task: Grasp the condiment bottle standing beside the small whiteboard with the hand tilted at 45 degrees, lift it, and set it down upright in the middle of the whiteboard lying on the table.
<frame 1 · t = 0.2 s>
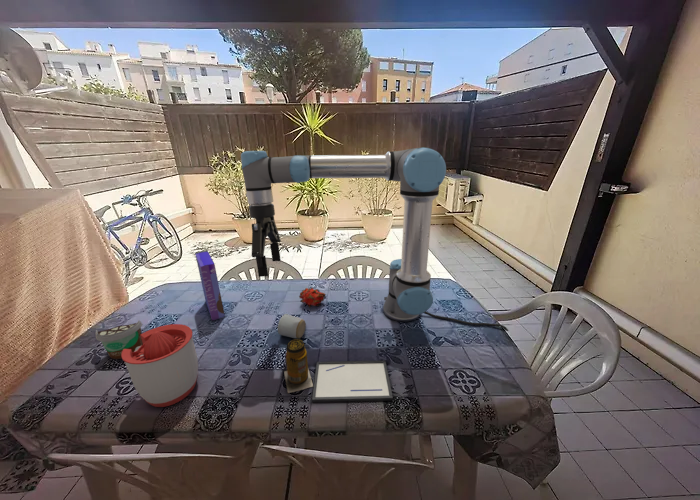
hand: (270, 268, 90), 27 cm above the table, tool pointing down, fingers open, 13 cm apart
cereal box: (214, 309, 117), on the table
ceramic mug: (294, 333, 101), on the table
food container: (125, 354, 91), on the table
whiteboard: (351, 380, 80), on the table
condiment: (298, 379, 81), on the table
citrus juicer: (170, 390, 77), on the table
dragon fruit: (313, 304, 120), on the table
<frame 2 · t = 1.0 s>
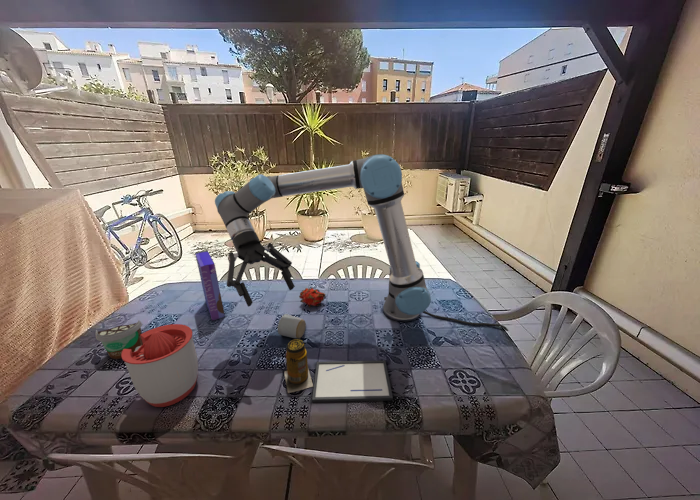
hand: (272, 296, 80), 24 cm above the table, tool tilted 45°, fingers open, 13 cm apart
nothing on the table moved.
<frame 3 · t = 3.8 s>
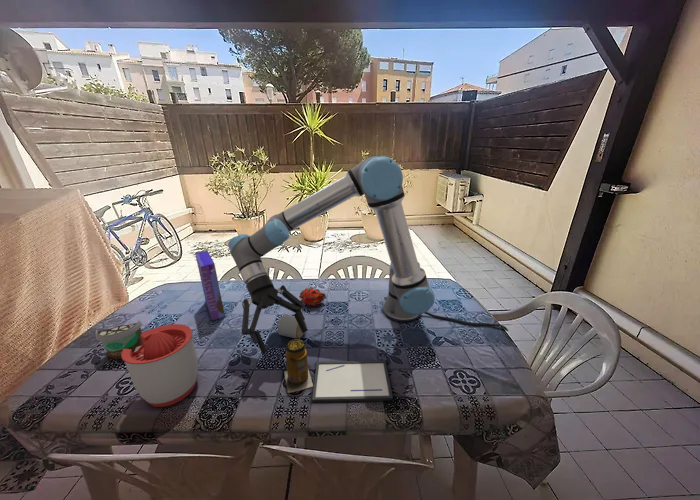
hand: (286, 341, 80), 11 cm above the table, tool tilted 45°, fingers open, 13 cm apart
nothing on the table moved.
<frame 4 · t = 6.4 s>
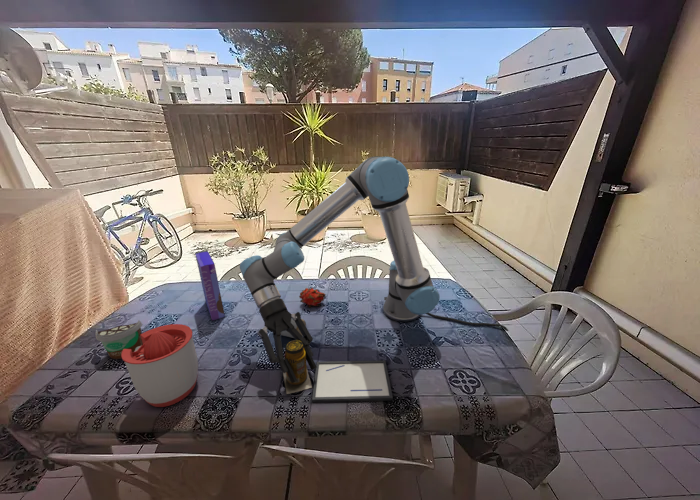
hand: (304, 375, 77), 4 cm above the table, tool tilted 45°, fingers closed on condiment, 6 cm apart
condiment: (297, 380, 81), on the table, touching gripper
everything else where it was.
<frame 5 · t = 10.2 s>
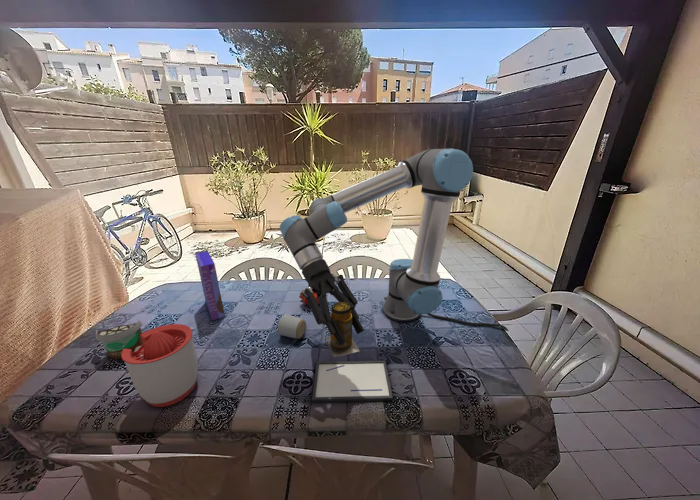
hand: (352, 337, 73), 17 cm above the table, tool tilted 45°, fingers closed on condiment, 6 cm apart
condiment: (342, 345, 76), point 12 cm above the table, touching gripper
everything else where it was.
when the fingers open (5 cm above the table, at t = 14.1 s): condiment stays where it is, resting on whiteboard.
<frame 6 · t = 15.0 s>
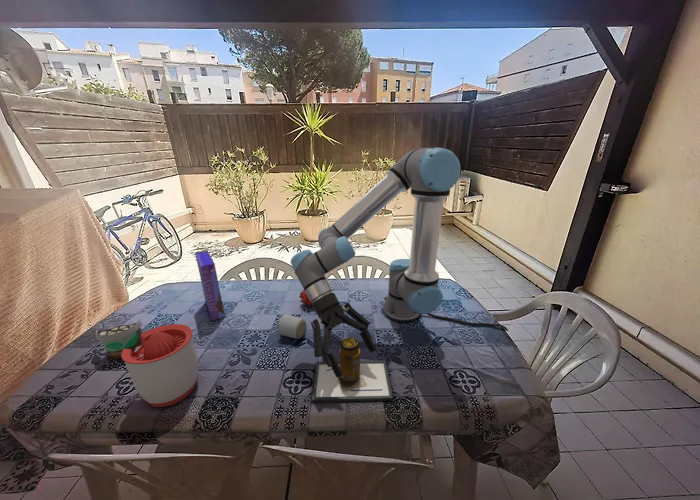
hand: (357, 363, 77), 7 cm above the table, tool tilted 45°, fingers open, 13 cm apart
condiment: (350, 378, 81), resting on whiteboard
everything else where it was.
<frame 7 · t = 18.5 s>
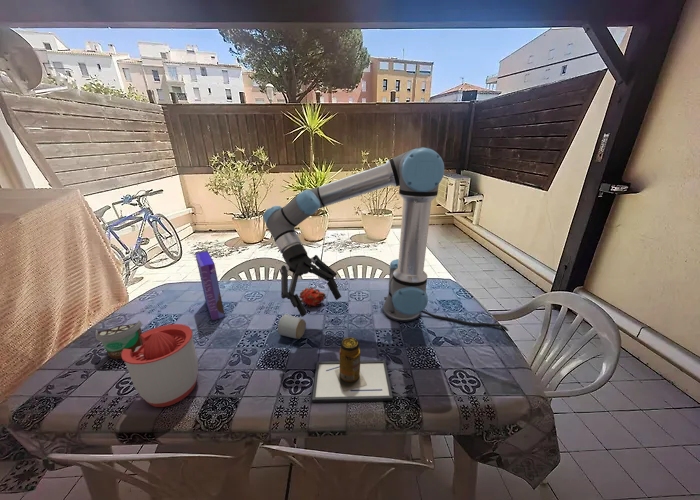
hand: (322, 306, 84), 19 cm above the table, tool tilted 45°, fingers open, 13 cm apart
nothing on the table moved.
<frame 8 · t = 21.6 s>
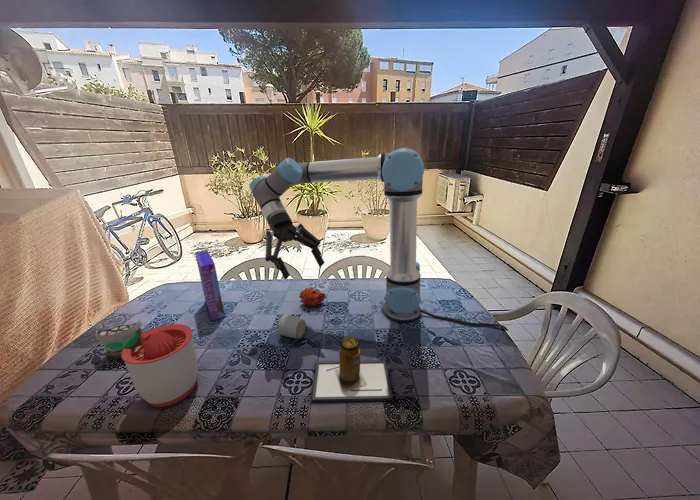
hand: (305, 270, 87), 28 cm above the table, tool tilted 45°, fingers open, 13 cm apart
nothing on the table moved.
at the end: condiment inside the target area (0.7 cm from its centre), resting on whiteboard; condiment tilted 0°; the gripper is holding nothing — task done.
